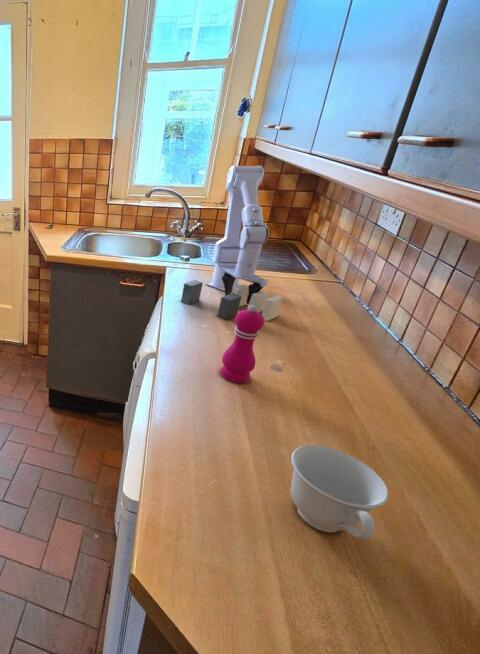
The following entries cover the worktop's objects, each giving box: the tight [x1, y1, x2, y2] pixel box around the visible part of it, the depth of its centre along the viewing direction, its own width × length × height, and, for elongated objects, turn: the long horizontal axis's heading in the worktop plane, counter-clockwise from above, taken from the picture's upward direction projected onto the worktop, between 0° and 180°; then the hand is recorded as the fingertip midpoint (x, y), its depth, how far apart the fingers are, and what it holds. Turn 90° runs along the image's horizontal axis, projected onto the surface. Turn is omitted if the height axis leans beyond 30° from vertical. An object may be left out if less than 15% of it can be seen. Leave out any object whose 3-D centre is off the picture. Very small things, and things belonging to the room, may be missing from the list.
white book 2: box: [261, 294, 284, 322], centre depth 130 cm, size 6×2×7 cm, turn 120°
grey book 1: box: [180, 279, 204, 305], centre depth 143 cm, size 6×3×7 cm, turn 120°
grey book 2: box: [216, 292, 242, 320], centre depth 132 cm, size 6×3×7 cm, turn 120°
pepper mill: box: [220, 305, 265, 384], centre depth 99 cm, size 7×7×20 cm
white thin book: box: [231, 284, 249, 308], centre depth 139 cm, size 6×2×7 cm, turn 120°
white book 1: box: [246, 289, 269, 313], centre depth 134 cm, size 6×2×7 cm, turn 120°
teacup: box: [290, 444, 390, 540], centre depth 64 cm, size 12×15×10 cm
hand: (238, 299), depth 139 cm, fingers open, 7 cm apart
